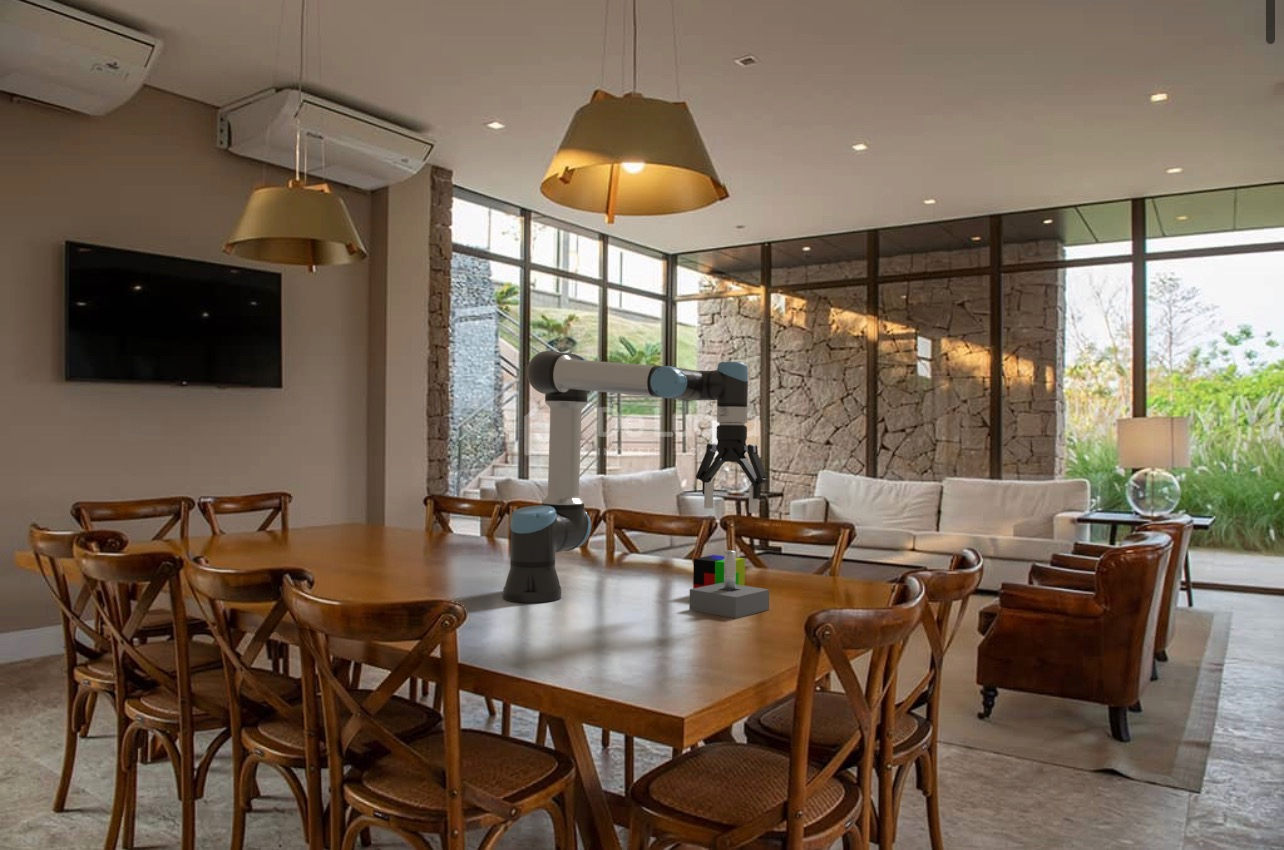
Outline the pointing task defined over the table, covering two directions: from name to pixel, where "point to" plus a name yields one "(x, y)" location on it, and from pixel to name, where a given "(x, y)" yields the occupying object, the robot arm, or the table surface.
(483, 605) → the table surface
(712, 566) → the puzzle toy
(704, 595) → the socket block
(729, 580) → the pin
